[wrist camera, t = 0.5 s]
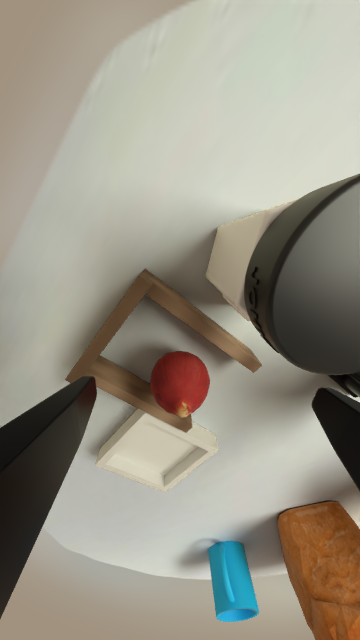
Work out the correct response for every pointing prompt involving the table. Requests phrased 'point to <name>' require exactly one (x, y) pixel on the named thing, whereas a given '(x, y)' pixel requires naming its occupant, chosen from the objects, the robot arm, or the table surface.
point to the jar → (298, 276)
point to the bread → (324, 567)
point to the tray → (155, 451)
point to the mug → (232, 582)
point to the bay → (131, 385)
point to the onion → (180, 383)
